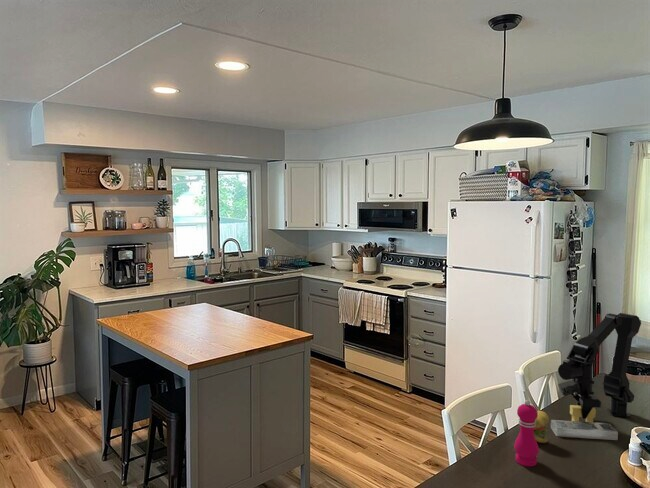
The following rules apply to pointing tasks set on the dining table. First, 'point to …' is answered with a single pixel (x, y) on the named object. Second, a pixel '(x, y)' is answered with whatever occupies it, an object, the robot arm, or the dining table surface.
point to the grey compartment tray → (584, 429)
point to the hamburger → (541, 427)
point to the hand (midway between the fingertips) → (582, 416)
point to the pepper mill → (526, 435)
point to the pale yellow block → (576, 413)
